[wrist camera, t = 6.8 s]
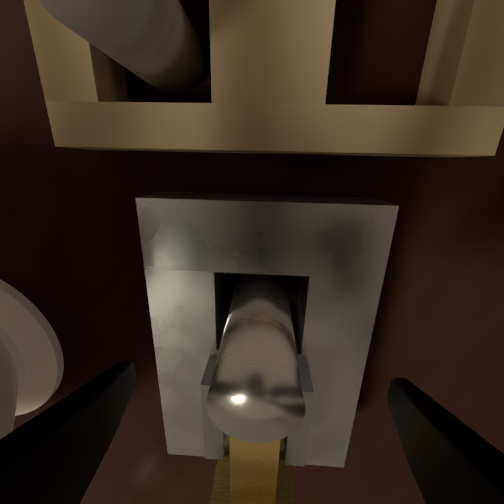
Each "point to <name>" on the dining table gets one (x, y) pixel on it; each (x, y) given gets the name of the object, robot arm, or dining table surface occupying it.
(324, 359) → the socket
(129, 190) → the dining table surface
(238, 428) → the grey rounded cylinder
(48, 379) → the decorative vase
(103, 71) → the rack
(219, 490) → the key
